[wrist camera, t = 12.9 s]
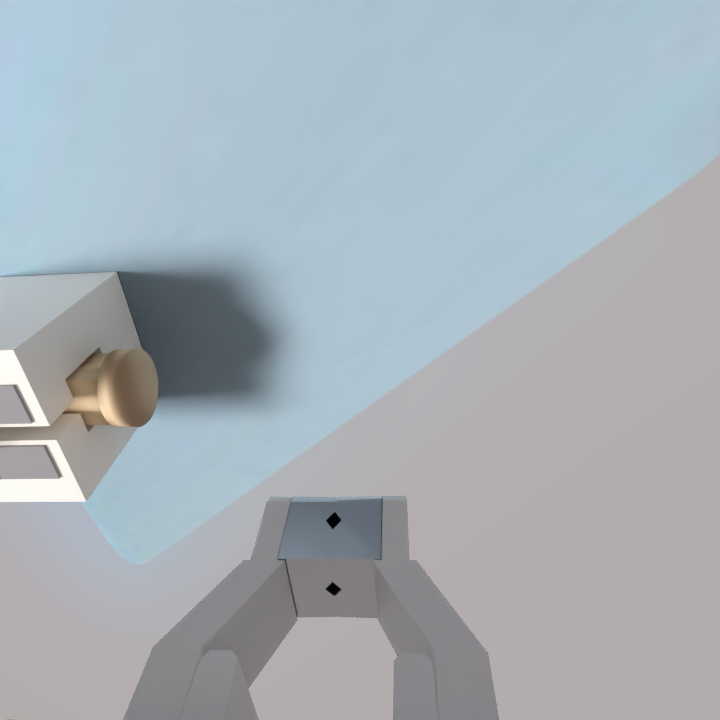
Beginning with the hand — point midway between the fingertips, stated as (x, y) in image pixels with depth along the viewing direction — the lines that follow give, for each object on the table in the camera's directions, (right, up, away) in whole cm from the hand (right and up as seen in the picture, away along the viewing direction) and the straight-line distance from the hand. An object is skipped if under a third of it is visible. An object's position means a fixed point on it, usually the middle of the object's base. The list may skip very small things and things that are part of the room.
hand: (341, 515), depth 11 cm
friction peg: (-23, +3, +30) cm, 38 cm away
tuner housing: (-25, +5, +35) cm, 43 cm away
